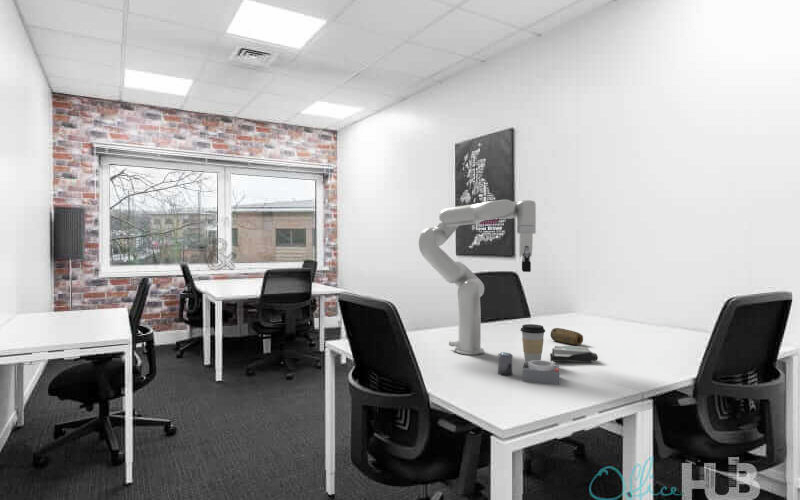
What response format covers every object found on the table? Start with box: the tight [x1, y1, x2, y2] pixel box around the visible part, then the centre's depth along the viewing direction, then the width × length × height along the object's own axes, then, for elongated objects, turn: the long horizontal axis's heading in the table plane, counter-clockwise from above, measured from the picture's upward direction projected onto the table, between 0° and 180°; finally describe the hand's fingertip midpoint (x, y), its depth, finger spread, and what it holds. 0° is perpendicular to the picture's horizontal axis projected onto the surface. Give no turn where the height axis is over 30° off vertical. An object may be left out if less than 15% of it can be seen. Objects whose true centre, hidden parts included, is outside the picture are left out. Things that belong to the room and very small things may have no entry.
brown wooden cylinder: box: [550, 327, 584, 346], centre depth 226 cm, size 15×7×7 cm, turn 39°
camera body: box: [522, 359, 560, 385], centre depth 165 cm, size 12×9×6 cm
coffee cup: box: [520, 323, 546, 363], centre depth 186 cm, size 9×9×15 cm
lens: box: [497, 352, 513, 377], centre depth 172 cm, size 5×5×7 cm
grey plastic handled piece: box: [549, 345, 599, 364], centre depth 194 cm, size 16×20×5 cm
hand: (526, 271), depth 198 cm, fingers open, 9 cm apart
